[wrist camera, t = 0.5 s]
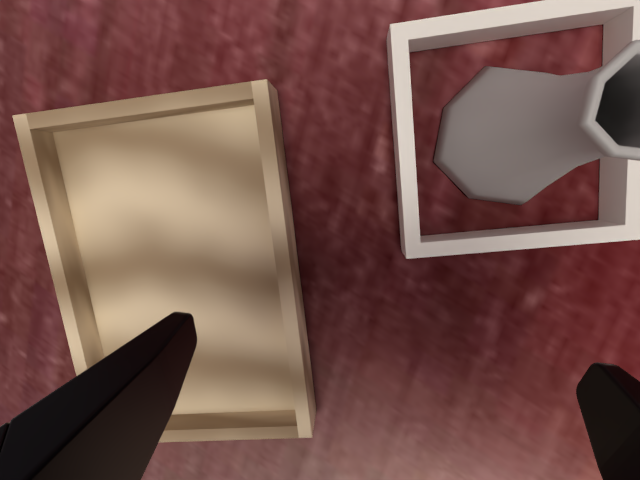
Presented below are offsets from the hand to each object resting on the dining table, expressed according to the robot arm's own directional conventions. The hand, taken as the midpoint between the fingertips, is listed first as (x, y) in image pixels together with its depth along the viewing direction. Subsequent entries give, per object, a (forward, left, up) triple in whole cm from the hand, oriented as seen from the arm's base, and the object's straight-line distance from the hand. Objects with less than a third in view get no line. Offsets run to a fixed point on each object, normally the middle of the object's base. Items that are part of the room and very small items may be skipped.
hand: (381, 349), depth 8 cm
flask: (+5, -8, -14) cm, 17 cm away
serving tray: (-1, +11, -13) cm, 17 cm away
